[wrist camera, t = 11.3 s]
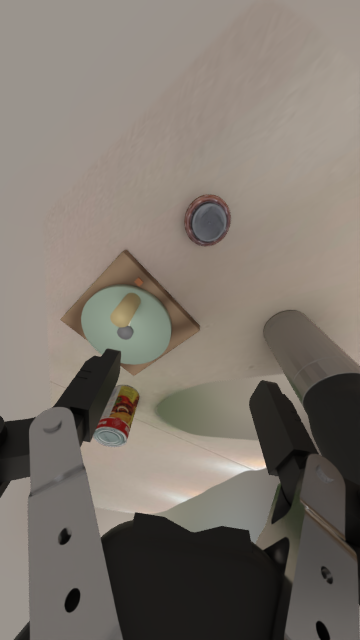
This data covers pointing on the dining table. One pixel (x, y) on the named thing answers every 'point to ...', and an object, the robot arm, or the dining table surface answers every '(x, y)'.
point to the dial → (127, 323)
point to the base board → (135, 275)
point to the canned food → (117, 417)
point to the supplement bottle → (207, 220)
